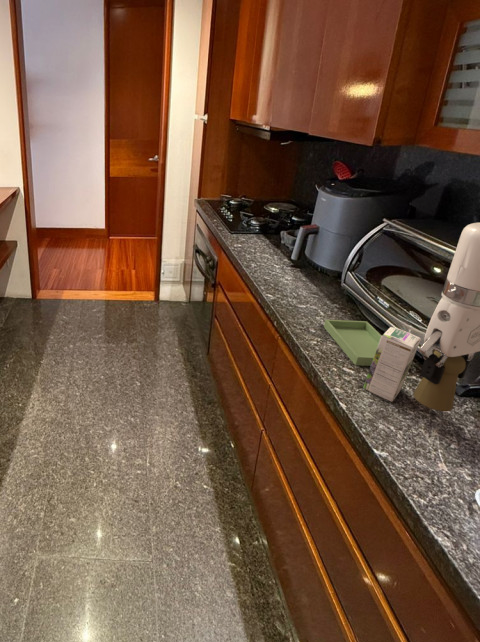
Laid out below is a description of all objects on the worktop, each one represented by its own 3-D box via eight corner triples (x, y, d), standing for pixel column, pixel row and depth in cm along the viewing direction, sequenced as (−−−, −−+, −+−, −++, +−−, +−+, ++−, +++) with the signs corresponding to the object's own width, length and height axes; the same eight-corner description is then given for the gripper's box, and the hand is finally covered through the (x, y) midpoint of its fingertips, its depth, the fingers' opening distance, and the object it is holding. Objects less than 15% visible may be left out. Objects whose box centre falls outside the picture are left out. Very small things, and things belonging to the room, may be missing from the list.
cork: (442, 392, 79) (459, 347, 75) (459, 414, 73) (479, 366, 69) (408, 387, 80) (423, 342, 76) (422, 408, 75) (439, 361, 71)
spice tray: (403, 368, 94) (406, 359, 93) (355, 365, 95) (357, 357, 94) (364, 328, 110) (367, 321, 109) (323, 327, 110) (325, 319, 110)
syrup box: (371, 378, 90) (388, 325, 85) (401, 391, 86) (422, 336, 81) (362, 388, 87) (380, 334, 82) (393, 403, 83) (414, 347, 77)
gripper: (457, 310, 63) (426, 398, 69) (533, 295, 67) (496, 380, 73) (412, 290, 70) (387, 373, 76) (483, 278, 73) (453, 357, 80)
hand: (441, 375), depth 75 cm, fingers closed on cork, 5 cm apart
